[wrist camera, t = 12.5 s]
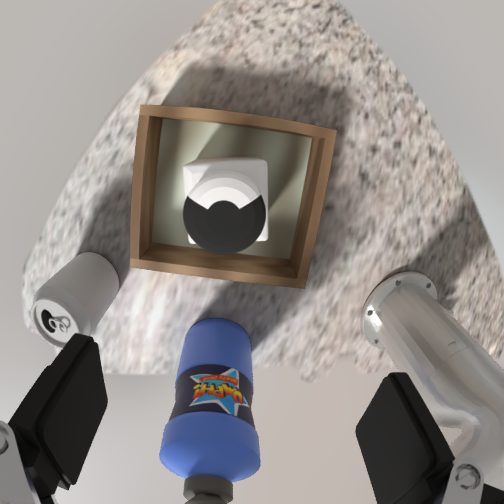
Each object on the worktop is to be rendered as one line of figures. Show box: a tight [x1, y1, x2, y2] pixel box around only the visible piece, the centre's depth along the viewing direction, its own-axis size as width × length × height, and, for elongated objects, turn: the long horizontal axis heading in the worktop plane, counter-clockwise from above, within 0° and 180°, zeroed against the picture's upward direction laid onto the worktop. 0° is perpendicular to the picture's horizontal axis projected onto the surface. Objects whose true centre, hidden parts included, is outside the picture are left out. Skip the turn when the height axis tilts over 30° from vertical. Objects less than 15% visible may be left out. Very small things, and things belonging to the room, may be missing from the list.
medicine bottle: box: [183, 156, 268, 255], centre depth 27 cm, size 7×7×12 cm
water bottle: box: [160, 318, 260, 504], centre depth 29 cm, size 9×9×25 cm
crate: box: [130, 105, 337, 289], centre depth 30 cm, size 18×16×6 cm
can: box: [31, 252, 119, 349], centre depth 31 cm, size 8×8×12 cm
